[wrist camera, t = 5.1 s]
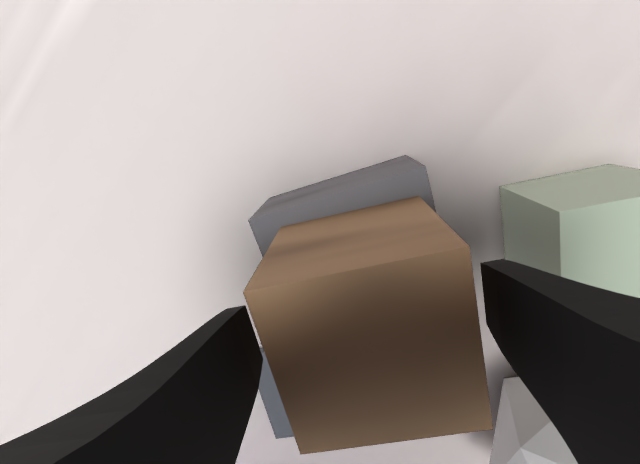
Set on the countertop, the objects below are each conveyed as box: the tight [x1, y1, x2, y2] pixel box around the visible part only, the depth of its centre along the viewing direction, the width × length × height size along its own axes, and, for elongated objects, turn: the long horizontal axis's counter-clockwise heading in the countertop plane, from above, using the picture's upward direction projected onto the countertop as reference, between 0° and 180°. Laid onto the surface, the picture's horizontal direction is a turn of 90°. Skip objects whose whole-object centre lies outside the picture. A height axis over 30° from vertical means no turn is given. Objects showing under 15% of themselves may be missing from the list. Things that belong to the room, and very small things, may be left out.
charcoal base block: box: [248, 155, 436, 257], centre depth 15 cm, size 6×6×4 cm
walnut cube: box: [243, 195, 493, 454], centre depth 10 cm, size 5×5×5 cm
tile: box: [258, 348, 294, 439], centre depth 19 cm, size 6×6×1 cm
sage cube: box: [500, 164, 640, 298], centre depth 14 cm, size 4×4×4 cm
